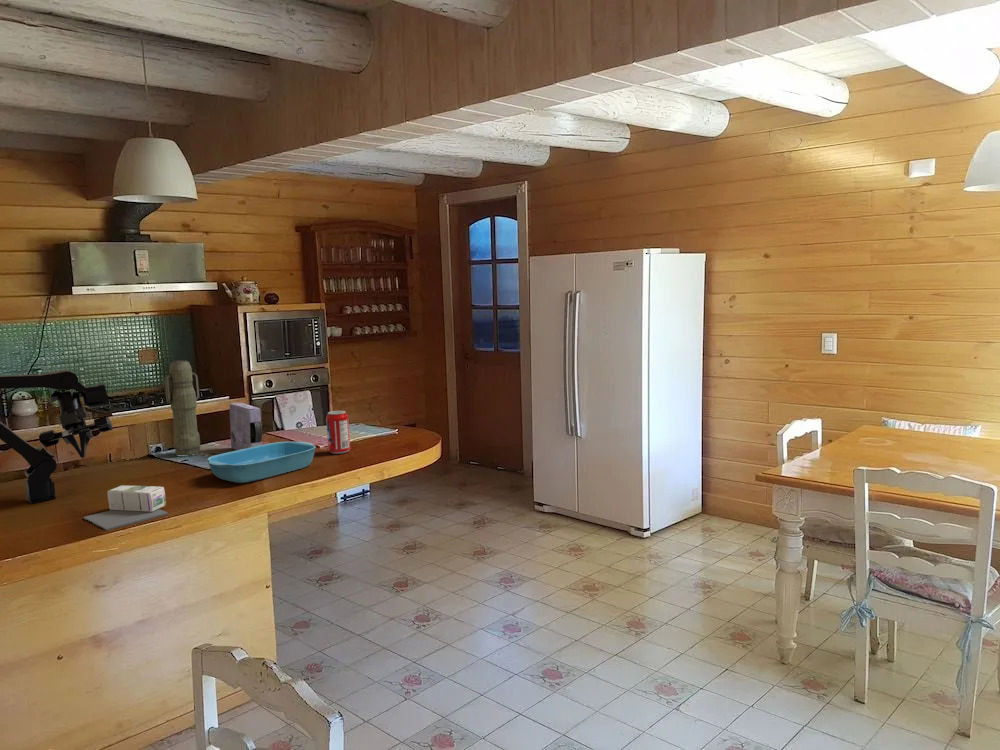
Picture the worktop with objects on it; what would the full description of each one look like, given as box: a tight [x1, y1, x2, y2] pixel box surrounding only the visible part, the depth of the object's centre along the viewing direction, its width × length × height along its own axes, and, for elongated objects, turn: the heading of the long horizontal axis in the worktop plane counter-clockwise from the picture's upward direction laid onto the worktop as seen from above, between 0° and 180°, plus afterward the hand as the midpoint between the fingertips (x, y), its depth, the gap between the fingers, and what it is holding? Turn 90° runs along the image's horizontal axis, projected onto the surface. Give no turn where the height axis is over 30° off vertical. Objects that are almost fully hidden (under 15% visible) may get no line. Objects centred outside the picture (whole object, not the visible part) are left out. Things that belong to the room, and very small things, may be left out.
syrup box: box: [107, 484, 167, 512], centre depth 206 cm, size 6×6×14 cm
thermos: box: [163, 359, 201, 455], centre depth 272 cm, size 9×12×35 cm
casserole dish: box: [206, 440, 317, 484], centre depth 244 cm, size 37×22×7 cm, turn 143°
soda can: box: [325, 410, 351, 455], centre depth 267 cm, size 8×8×15 cm
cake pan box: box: [228, 402, 263, 451], centre depth 274 cm, size 19×5×18 cm, turn 42°
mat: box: [83, 508, 169, 531], centre depth 201 cm, size 16×16×1 cm
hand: (82, 457), depth 218 cm, fingers closed
